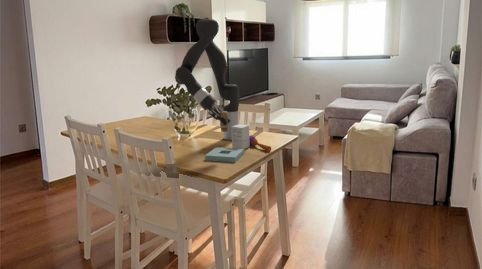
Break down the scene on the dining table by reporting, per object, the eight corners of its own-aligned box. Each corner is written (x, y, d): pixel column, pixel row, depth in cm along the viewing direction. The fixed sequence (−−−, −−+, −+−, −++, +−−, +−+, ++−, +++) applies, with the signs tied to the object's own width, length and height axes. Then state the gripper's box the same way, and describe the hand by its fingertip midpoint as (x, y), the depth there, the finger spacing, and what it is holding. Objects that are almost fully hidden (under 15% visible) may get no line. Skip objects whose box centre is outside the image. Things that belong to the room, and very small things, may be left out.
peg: (221, 130, 201) (221, 111, 199) (229, 130, 200) (228, 111, 198) (219, 132, 197) (218, 112, 195) (226, 132, 196) (226, 112, 194)
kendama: (263, 146, 206) (243, 136, 223) (264, 156, 209) (244, 145, 225) (272, 142, 209) (251, 133, 225) (273, 152, 211) (253, 142, 228)
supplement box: (239, 145, 224) (238, 123, 221) (250, 147, 219) (249, 125, 217) (231, 148, 218) (231, 126, 215) (242, 150, 214) (242, 127, 211)
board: (215, 151, 211) (215, 147, 211) (244, 153, 207) (244, 148, 206) (205, 160, 196) (205, 155, 196) (235, 162, 192) (235, 157, 191)
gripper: (203, 95, 190) (228, 120, 189) (214, 92, 203) (236, 115, 202) (194, 106, 192) (218, 131, 192) (204, 101, 206) (227, 125, 205)
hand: (227, 123), depth 197 cm, fingers closed on peg, 4 cm apart
